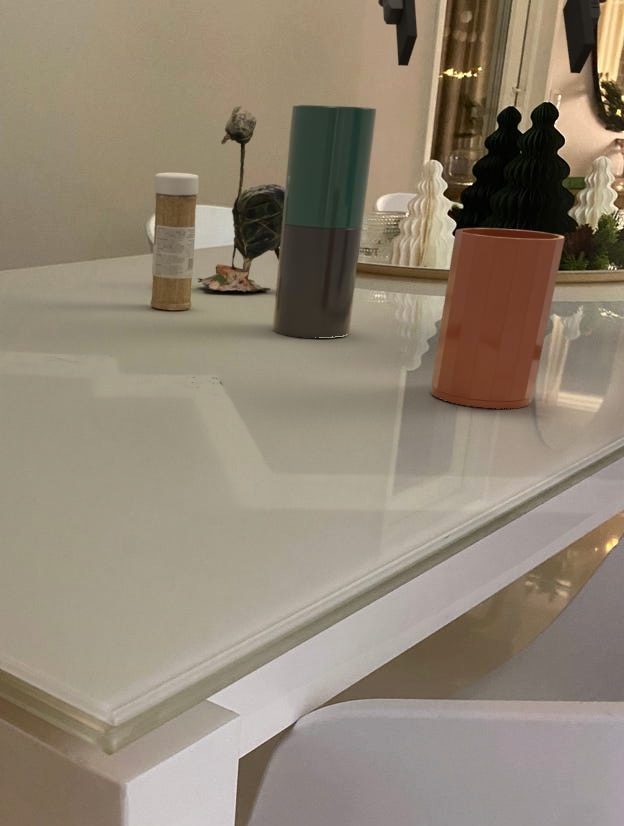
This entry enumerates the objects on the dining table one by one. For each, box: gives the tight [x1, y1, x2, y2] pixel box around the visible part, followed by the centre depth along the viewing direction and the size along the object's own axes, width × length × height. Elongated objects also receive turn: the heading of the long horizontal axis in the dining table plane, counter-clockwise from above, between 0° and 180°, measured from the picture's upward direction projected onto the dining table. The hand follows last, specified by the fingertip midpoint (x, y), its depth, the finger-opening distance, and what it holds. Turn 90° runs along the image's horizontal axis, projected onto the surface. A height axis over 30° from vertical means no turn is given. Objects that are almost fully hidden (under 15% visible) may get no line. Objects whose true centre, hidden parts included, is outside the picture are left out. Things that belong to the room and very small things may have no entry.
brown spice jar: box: [150, 172, 200, 311], centre depth 111 cm, size 5×5×13 cm
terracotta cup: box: [430, 227, 566, 410], centre depth 79 cm, size 8×8×12 cm
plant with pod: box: [196, 105, 285, 293], centre depth 123 cm, size 8×11×20 cm
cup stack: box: [272, 104, 377, 339], centre depth 100 cm, size 8×8×20 cm
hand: (495, 55), depth 80 cm, fingers open, 13 cm apart
